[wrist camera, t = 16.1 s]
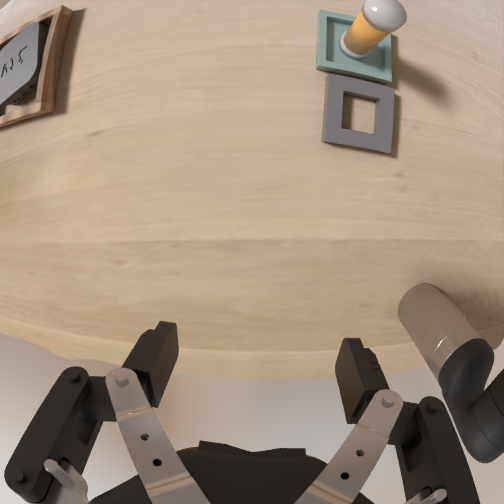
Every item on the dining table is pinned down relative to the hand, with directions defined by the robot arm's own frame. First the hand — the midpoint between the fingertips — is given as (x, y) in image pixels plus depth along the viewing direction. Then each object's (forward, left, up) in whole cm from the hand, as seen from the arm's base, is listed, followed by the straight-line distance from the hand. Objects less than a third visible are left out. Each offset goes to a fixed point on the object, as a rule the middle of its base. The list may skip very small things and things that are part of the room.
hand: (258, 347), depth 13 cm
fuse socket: (-12, -16, -30) cm, 36 cm away
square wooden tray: (+50, -28, -30) cm, 65 cm away
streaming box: (+49, -29, -31) cm, 65 cm away
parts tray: (-11, -27, -30) cm, 42 cm away
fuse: (-11, -27, -30) cm, 41 cm away
